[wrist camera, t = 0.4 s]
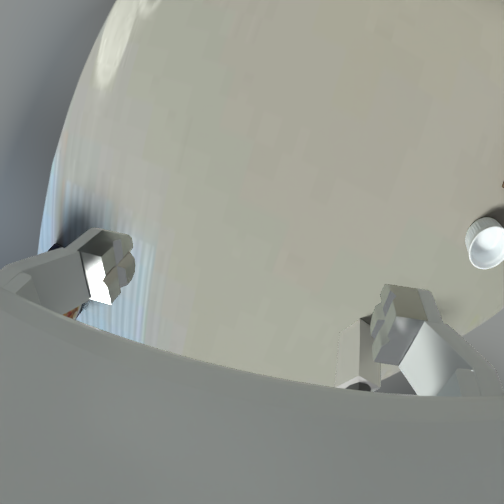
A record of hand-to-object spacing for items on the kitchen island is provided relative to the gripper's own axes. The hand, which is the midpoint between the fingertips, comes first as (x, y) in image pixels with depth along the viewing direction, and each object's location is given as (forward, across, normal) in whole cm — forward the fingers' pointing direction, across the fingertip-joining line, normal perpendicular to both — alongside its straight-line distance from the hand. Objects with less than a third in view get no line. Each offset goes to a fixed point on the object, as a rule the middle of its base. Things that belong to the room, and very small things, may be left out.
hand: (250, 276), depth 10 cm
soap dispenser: (+44, -20, +41) cm, 64 cm away
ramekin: (+40, -35, +11) cm, 55 cm away
